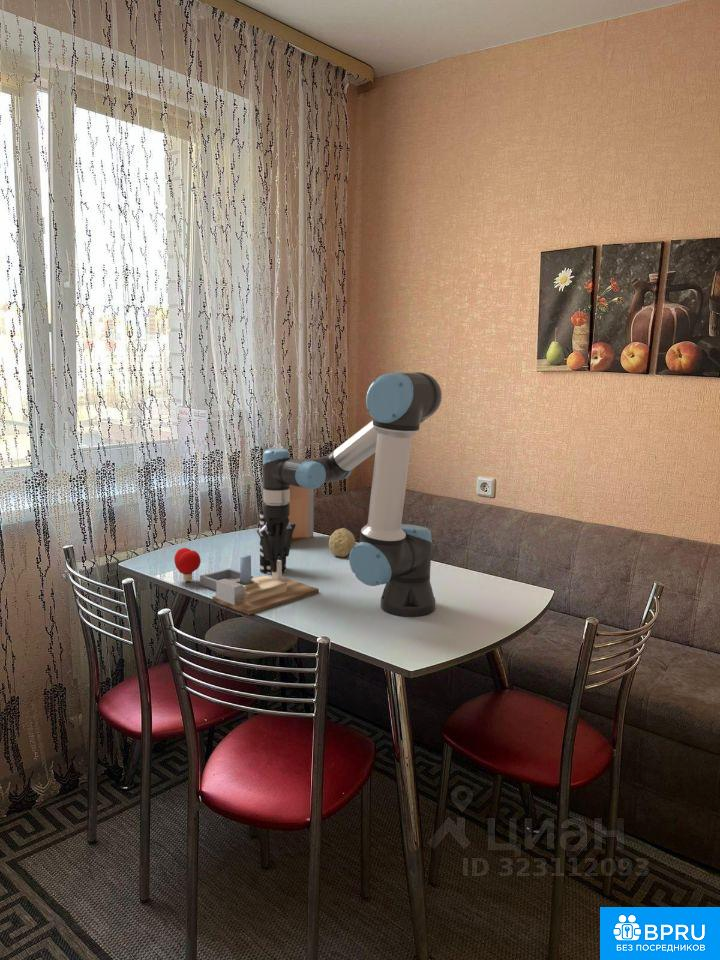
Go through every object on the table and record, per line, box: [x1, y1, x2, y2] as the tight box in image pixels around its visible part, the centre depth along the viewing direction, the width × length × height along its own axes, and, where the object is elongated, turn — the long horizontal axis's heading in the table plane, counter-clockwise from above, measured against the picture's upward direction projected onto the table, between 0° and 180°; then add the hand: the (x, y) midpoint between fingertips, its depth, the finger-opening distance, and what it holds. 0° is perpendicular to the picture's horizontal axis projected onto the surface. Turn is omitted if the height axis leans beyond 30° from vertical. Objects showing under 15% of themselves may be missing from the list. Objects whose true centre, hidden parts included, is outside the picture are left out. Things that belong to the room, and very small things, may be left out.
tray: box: [199, 567, 254, 593], centre depth 217 cm, size 11×11×3 cm
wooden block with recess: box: [233, 574, 287, 603], centre depth 207 cm, size 10×14×4 cm
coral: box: [328, 527, 357, 558], centre depth 251 cm, size 10×10×10 cm
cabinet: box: [288, 485, 315, 545], centre depth 268 cm, size 21×10×28 cm, turn 147°
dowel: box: [239, 554, 252, 585], centre depth 204 cm, size 3×3×9 cm
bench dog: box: [216, 579, 243, 605], centre depth 200 cm, size 8×3×5 cm, turn 48°
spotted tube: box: [259, 507, 287, 575], centre depth 231 cm, size 8×8×20 cm
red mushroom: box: [174, 547, 201, 583], centre depth 219 cm, size 9×7×10 cm
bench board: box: [211, 576, 320, 616], centre depth 208 cm, size 16×26×1 cm, turn 138°
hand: (276, 581), depth 213 cm, fingers closed
